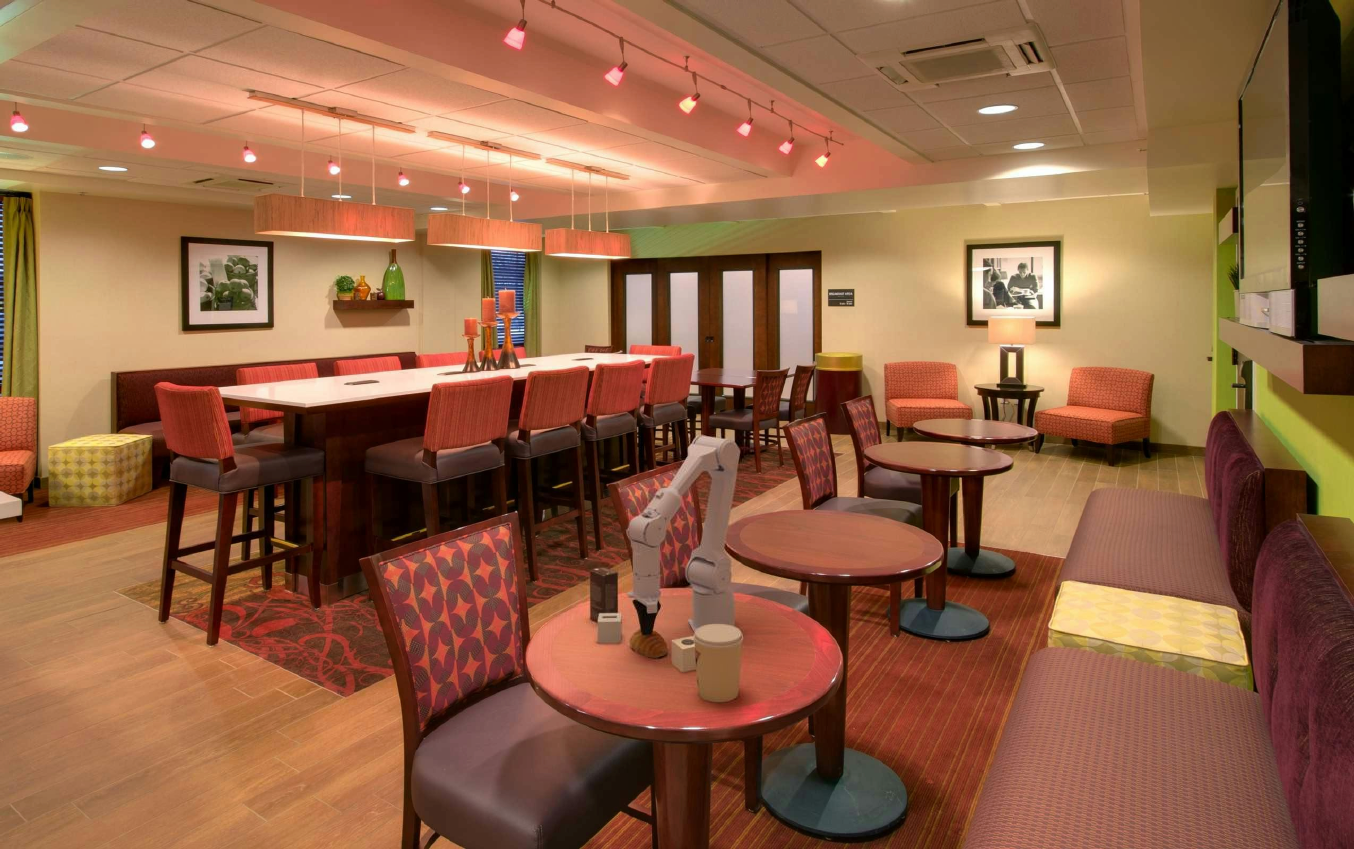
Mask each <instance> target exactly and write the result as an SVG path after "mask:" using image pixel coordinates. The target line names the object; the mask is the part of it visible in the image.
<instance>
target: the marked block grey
mask: <svg viewBox="0 0 1354 849" xmlns="http://www.w3.org/2000/svg"><path fill="white" fill-rule="evenodd" d="M622 625H623V624H622V612H618V613H599V617H598V622H597V644H621V643H622V637H623V636H622V635H623V634H622V633H623V632H622Z"/></svg>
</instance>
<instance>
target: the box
mask: <svg viewBox="0 0 1354 849" xmlns="http://www.w3.org/2000/svg"><path fill="white" fill-rule="evenodd" d="M589 599H590V600H589V618H590V619H591V620H593V621H595V622H597V623H598V617H599V613H619V572H618V571H614V570H613V569H610V568H607V567H605V566H603V567H602V566H601V567H597V568H593V569H590V570H589Z"/></svg>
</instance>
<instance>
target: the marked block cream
mask: <svg viewBox="0 0 1354 849" xmlns="http://www.w3.org/2000/svg"><path fill="white" fill-rule="evenodd" d="M671 664H672V665H673V666H675V667H676V668H677V669H678V670H679V671H680V672H682V673H687V672H690V671H696V660H695V643H694V635H691V636H687V637H680V638H676V639H671Z"/></svg>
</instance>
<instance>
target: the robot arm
mask: <svg viewBox="0 0 1354 849" xmlns="http://www.w3.org/2000/svg"><path fill="white" fill-rule="evenodd" d="M738 446H739V445H737V443H736V442H735V440H733V439H731V438H720V437H715V436H707V435H704V434H699V435H697V436H696V437H694V438H693V440H692V442H691V444H690V445H689V446H688V447H687V457H686V458H685V459H684V462H683V463H682V465H681V466H680V467H679V469H678V471H677V473H676V474H675V476H674V477H673V479H672V480H671V482H670V484H669V485H668V487H662V488H660V489H659V490H656V492H655V493H654V496H653V498H652V499H651V501H650V502H649V504H648V505H647V506H646V508H644V510H643V511H642V512H641V513H640V514H639V515H636V516H635V517H633V518H632V519H631V520H630V521H629V523H628V526H627V529H626V530H625V531H626V532H625V533H626V536H627V538H628V539H629V541H630V547H631V549H632V591H627V598H629V599H633V600H632V601H631V602H632V604H633V607H634V608H635V610H636V614H637V617H638V623H639V629H641V632H642V635H651V634H652V632H653V631H654V628H655V624H656V623H655V622H656V618H657V616H658V614H659V612H660V610H661V607H662V604H661V602H660V599H661V596H662V592H661V570H660V569H661V564H660V563H661V558H660V557H661V556H660V555H661V550H660V549H661V543H662V542H664V540H665V539H666V536H667V535H666V534H667V529H668V527H669V523H670V521H671V520H672V519H673V518H674V516H675V515H676V514H677V512H678V510H679V509H680V507H681V506H682V503H683V502H682V496H683V495H684V494H685V493H686V491H687V490H688V489H689V488H690V487H691V486H692V484H693V483H694V482H695V481H696V479H698V477H699V476H700V475H701V474H702V472H707V473H708V475H709V476H710V477H711V485H710V490H709V495H708V499H707V500H708V502H707V505H706V506H707V507H706V511H705V512H706V513H705V518H704V522H703V529H702V535H701V540H700V545H699V546H697V548H695V549H693V550H692V551H691V554H690V558H689V561H688V563H687V564H686V567H685V570H684V572H685V573H684V574H685V579H686V581H687V582H688V583H690V585H689V586H690V589H692V618H689V619H687V622H688V624H689V625H690V627H691V629H692V631H693V634H694V633H695V631H696V630H697V629H698V628H699V627H701V626H704V625H709V624H726V625H731V626H734V627H736V625H735V624H736V623H735V618H736V615H735V614H736V611H735V610H736V609H735V608H736V607H735V606H736V602H735V594H734V591H733V588H731V587H730V584H731V582H732V577H733V576H732V575H733V574H732V559H731V557H730V556H729V555H728V554H727V552H726V551H725V545H726V540H727V533H728V528H729V527H728V526H729V523H730V522H729V521H730V517H731V510H732V505H733V499H734V493H735V488H736V482H737V477H738V476H737V475H738V466H739V459H740V455H741V449H740V448H739V447H738Z"/></svg>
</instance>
